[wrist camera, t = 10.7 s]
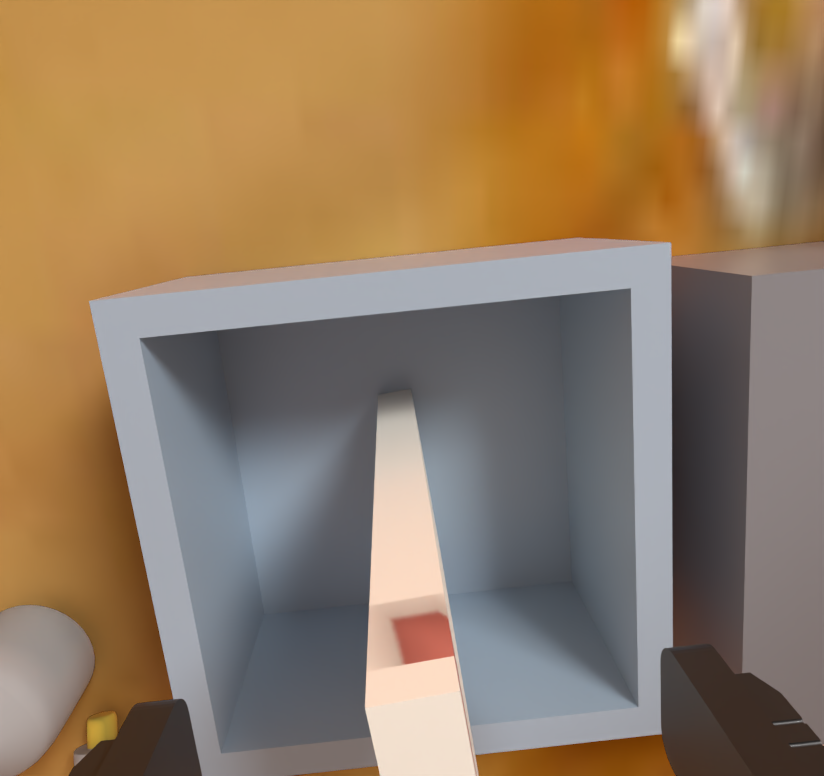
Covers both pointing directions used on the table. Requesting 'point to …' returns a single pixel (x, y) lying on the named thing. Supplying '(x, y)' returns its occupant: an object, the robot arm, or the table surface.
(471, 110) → the table surface
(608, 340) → the bin
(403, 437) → the ticket
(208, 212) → the table surface
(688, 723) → the robot arm
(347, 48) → the table surface
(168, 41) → the table surface
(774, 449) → the dispenser
